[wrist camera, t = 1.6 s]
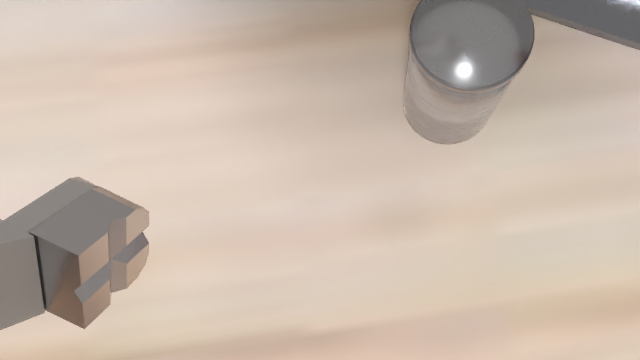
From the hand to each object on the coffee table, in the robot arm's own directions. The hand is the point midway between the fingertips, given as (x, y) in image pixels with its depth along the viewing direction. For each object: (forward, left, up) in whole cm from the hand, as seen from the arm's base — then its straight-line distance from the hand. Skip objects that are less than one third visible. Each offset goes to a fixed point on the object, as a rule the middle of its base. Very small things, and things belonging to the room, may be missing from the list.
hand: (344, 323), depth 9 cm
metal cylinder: (0, +13, -21) cm, 25 cm away
